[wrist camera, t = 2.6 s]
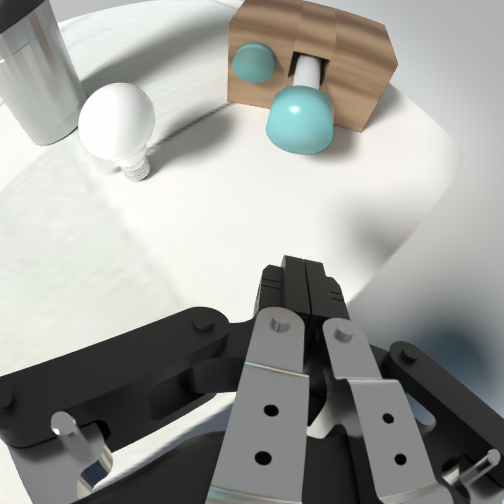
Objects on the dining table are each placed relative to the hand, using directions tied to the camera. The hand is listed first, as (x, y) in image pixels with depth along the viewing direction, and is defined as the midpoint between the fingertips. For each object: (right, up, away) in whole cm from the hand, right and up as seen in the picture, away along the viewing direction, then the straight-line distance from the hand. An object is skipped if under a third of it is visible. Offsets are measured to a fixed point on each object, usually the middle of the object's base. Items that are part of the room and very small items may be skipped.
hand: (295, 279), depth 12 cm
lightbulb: (-13, +9, +16) cm, 22 cm away
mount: (+4, +21, +21) cm, 29 cm away
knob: (+3, +16, +15) cm, 22 cm away
